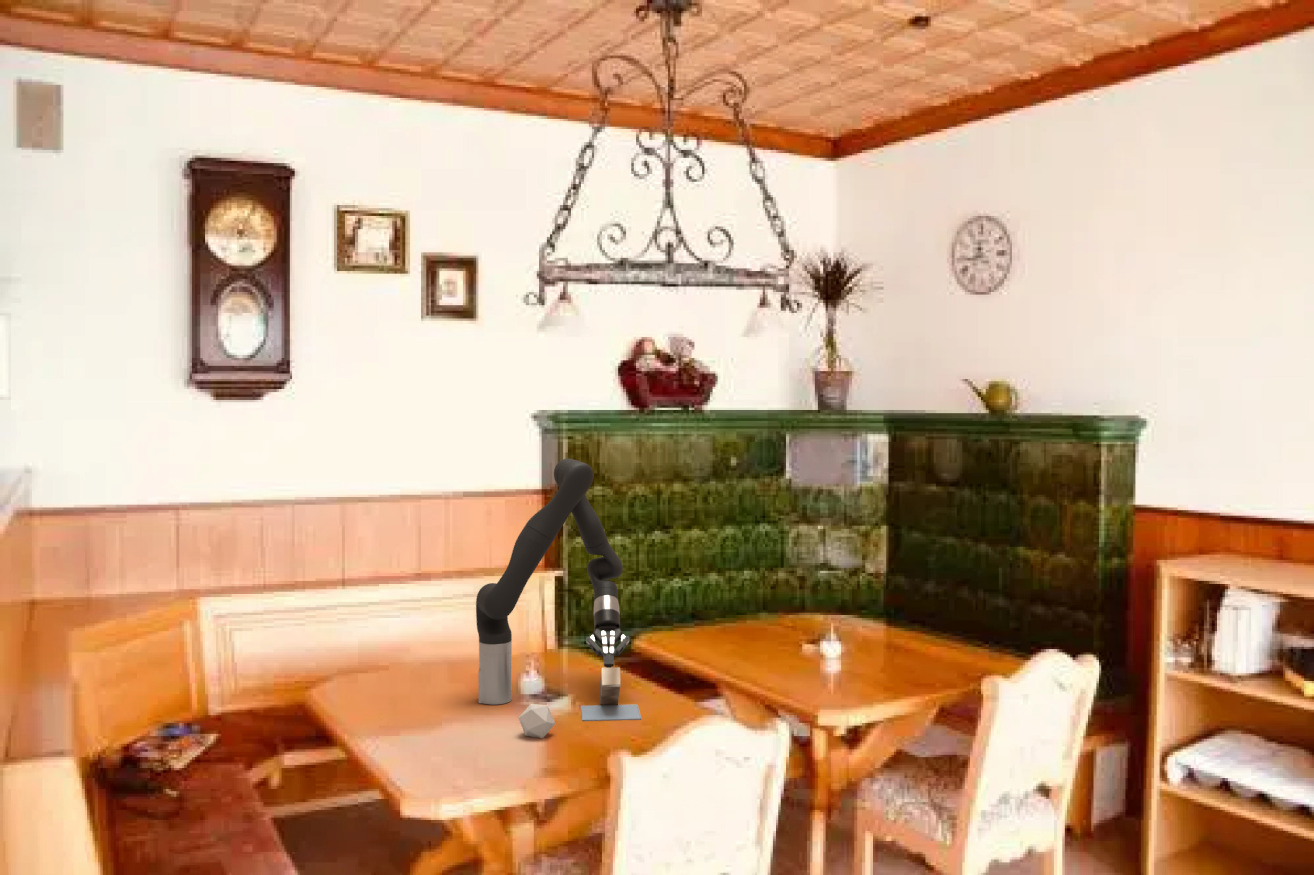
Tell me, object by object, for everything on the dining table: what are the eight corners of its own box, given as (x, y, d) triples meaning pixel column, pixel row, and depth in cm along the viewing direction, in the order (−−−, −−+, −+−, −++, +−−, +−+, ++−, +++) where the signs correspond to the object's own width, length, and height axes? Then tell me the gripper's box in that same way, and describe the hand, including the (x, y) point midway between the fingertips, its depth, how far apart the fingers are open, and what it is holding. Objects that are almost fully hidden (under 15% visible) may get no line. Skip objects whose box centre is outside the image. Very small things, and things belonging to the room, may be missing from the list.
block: (600, 705, 320) (602, 684, 309) (599, 689, 323) (601, 667, 312) (617, 705, 320) (620, 684, 309) (617, 688, 323) (619, 667, 312)
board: (582, 721, 306) (582, 719, 306) (580, 706, 319) (580, 705, 319) (641, 719, 308) (641, 718, 308) (637, 705, 320) (637, 704, 320)
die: (560, 735, 296) (548, 701, 300) (555, 728, 288) (543, 693, 292) (530, 747, 295) (519, 713, 299) (524, 741, 287) (513, 705, 292)
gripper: (584, 608, 328) (585, 660, 316) (630, 607, 329) (633, 659, 317) (583, 622, 333) (585, 674, 322) (628, 621, 335) (631, 673, 323)
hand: (609, 667), depth 320 cm, fingers closed
